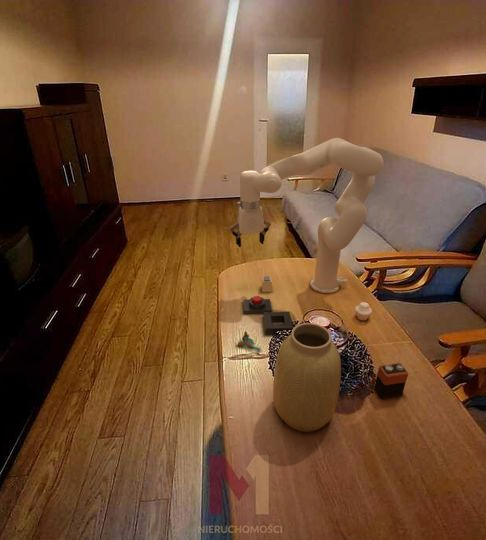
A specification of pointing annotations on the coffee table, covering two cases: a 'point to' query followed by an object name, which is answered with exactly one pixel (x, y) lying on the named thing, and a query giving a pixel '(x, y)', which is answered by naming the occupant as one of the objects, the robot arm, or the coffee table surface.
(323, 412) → the vase
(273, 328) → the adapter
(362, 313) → the cream rounded piece
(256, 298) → the power button
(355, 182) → the robot arm
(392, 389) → the battery
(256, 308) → the switch block
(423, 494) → the coffee table surface
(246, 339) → the dragon figurine
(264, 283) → the charger
